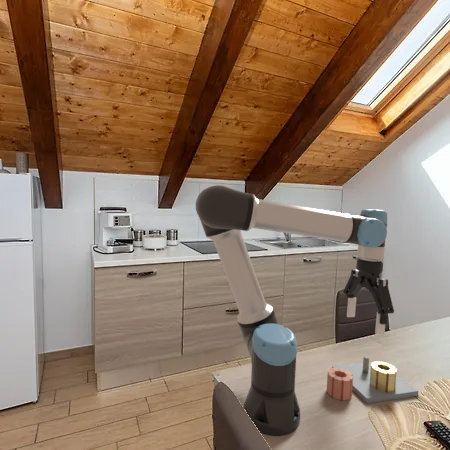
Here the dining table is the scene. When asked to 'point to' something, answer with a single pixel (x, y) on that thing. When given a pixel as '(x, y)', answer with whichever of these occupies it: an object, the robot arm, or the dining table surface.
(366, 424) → the dining table surface
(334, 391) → the gear red
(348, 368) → the peg board
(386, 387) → the gear brass
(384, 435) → the dining table surface
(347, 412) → the dining table surface
